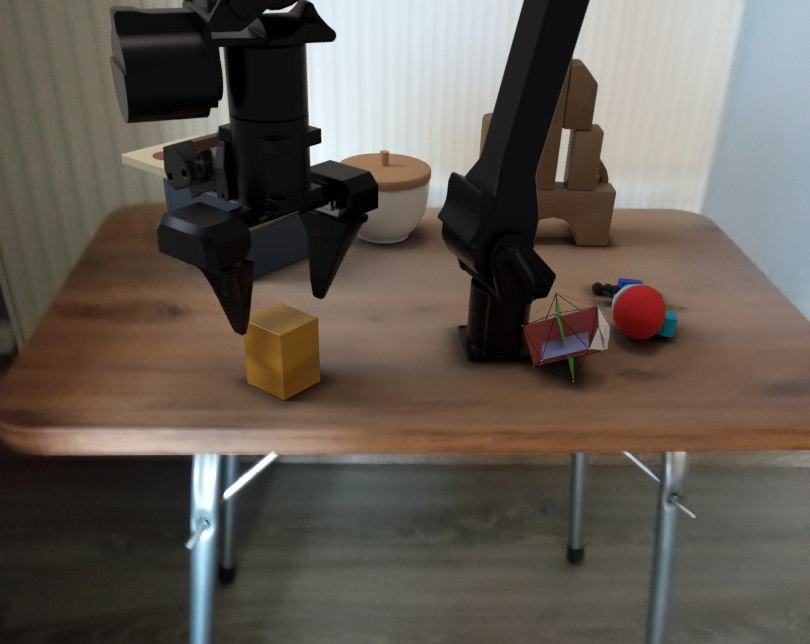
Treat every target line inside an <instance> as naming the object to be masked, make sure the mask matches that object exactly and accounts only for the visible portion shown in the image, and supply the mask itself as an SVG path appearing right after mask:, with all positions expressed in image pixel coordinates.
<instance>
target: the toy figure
mask: <svg viewBox="0 0 810 644" xmlns="http://www.w3.org/2000/svg"><path fill="white" fill-rule="evenodd" d="M591 292H592V293H593V294H594V295H595V296H600V295H602V294H603V295H604V296H605V297H608V298H609V299H611V300H612V302H611V313H612V320H613V322H614V324H615V326H616V327H617V329H618V330H619V331H620V332H621V333H622V334H623V335H624V336H626V337H627V338H630V339H634V340H646V339H649V338H651V337H653V336H654V335H658V336H662V337H667V338H674V335H675V331H676V327H677V323H678V316H677V314H676V311H673V310H672V309H670V310H669V311H667V309H666V304H665V301H664V298H663V295H662V294H661V293H660V291H658V290H657V289H656V288H655V287H652V286H650V285H646V284H645V283H644V282H643V281H642V280H641V279H634V278H623V277H618V280H617V284H614V285H612V284H611V283H605V284H602V283H601V282H599V281H596V282H594V283H592V285H591Z"/></svg>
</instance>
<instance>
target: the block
mask: <svg viewBox="0 0 810 644" xmlns="http://www.w3.org/2000/svg"><path fill="white" fill-rule="evenodd" d="M242 336H243V346H244V347H243V348H244V354H245V355H244V358H245V369H246V370H245V371H246V379H247V384H248V385H251V386H253V387H255V388H256V389H259V390H262V391H264V392H266V393H268V394H270V395H272V396H275V397H277V398H279V399H281V400H283V401H286V400H288V399H289V398H292V397H294V396H296V395H297V394H299V393H300V392H303V391H304V390H305V391H306V390H307V389H309V388H310V387H312V386H314V385H316V384H318V383H319V382H321V363H320V361H321V360H320V333H319V317H317V316H314V315H312V314H310V313H307V312H304V311H302V310H300V309H298V308H295V307H292V306H290V305H287V304H285V303H282V302H278V303H276V304H274V305H271V306H268V307H266V308H265V309H262V310H260V311H258V312H255V313H253V314H250V319H249V324H248V329H247V333H246V334H245V335H242Z"/></svg>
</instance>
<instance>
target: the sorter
mask: <svg viewBox="0 0 810 644" xmlns="http://www.w3.org/2000/svg"><path fill="white" fill-rule="evenodd" d="M162 180H163V181H162V182H163V188H164V197H165V204H166V212H169V211H172V210H175V209H178V208H181V207H184V206H187V205H190V204H194V203H197V202H202V203H205V204H208V205H211V206H213V207H216V208H219V209H222V210H225V211H230V210H233V209H236V208H238V206H237V201H234V200H231V201H225V200H222V199H219V198H217V190H215V191H211V192H206V193H202V195H200V196H199V197H196V198H191V196H190V193H189V190H188V188H184V189H180V190H174V189H173V188H172V187H171V186H170V185H169V182H168V179H167V178H164V177H162ZM251 242H252V247H251V249H250V251H249V253H248V255H247V257H246V258H249V259H252V260H254V261H255V270H254V279H256V278H258V277H260V276H263V275H265V274H268V273H271V272H273V271H276V270H278V269H280V268H283V267H286V266H288V265H290V264H293V263H295V262H298V261H300V260H303V259H305V258H307V257H308V244H307V232H306V229H305V227H304V225H303V223H302V221H301V219H300V217H299V215H298V216H296V217H293V218H290V219H287V220H285V221H282V222H279V223H276V224H274V225H271V226H268V227H265V228H263V229H260V230H257V231H254V232H252V233H251Z"/></svg>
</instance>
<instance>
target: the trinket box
mask: <svg viewBox="0 0 810 644" xmlns="http://www.w3.org/2000/svg"><path fill="white" fill-rule="evenodd" d="M339 163H343V164H346V165H350V166H353V167H357V168H360V169H364V170H367V171H370V172H371V174H372V175H373V177H374V179H375V180H376V182H377V183H378V185H379V195H378V208H377V209H375V210H372V211H370V212H367V213H366V214H368V221H367V222H366V223H363V224H362V226H361V228H360V229H359V231H358V233H357V235H356V236H357V237H358V238H359V239H361V240H363V241H366V242H369V243H373V244H381V245H382V244H383V245H384V244H395V243H400V242H403V241H405V240H407V239H408V238H409V234H411V233H412V232H413V231H415V229H416V228H417V227H418V226H419V224H420V223H421V221H422V220H423V218H424V215H425V213H426V210H427V205H428V202H429V195H430V186H431V185H430V183H431V181H430V180H431V178H432V167H431V166H430V164H428V163H427V162H426V161H423V160H422V159H419V158H416V157H413V156H410V155H405V154H400V153H390V151H389V150H386V149H384V150H380V151H379V152H373V153H370V152H369V153H361V154H356V155H351V156H348V157H346V158H344V159H342V160H340V161H339Z"/></svg>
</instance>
